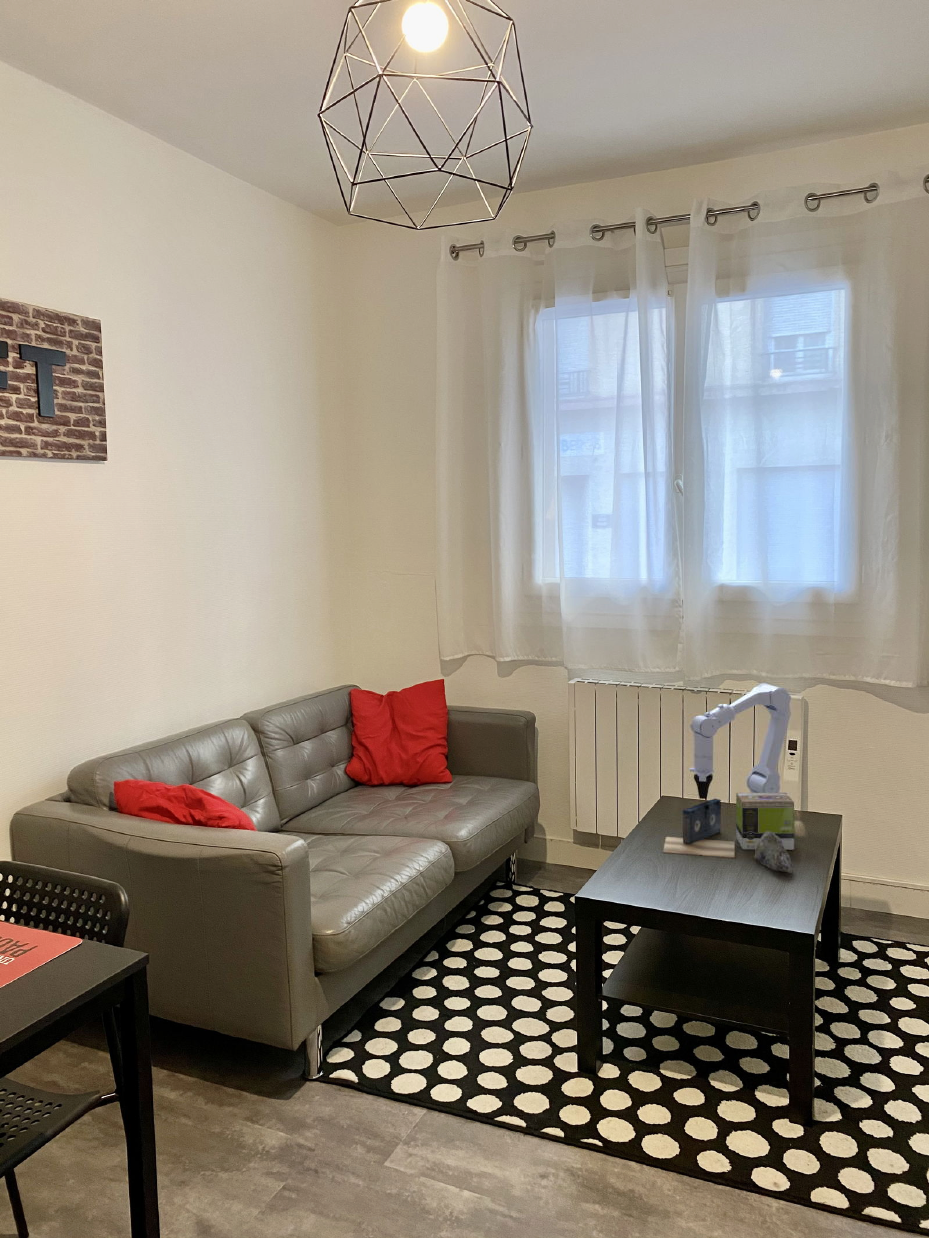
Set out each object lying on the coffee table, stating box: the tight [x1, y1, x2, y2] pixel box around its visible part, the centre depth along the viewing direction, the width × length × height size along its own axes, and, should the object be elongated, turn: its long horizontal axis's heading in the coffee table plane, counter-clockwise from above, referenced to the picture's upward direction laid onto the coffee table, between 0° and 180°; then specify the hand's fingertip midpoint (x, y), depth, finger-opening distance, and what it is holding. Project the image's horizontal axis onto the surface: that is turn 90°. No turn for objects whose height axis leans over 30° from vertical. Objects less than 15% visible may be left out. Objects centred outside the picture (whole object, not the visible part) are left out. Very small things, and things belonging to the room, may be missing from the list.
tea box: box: [735, 792, 795, 851], centre depth 288 cm, size 15×10×15 cm, turn 84°
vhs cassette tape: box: [682, 798, 722, 844], centre depth 296 cm, size 18×3×10 cm, turn 134°
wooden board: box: [662, 836, 736, 859], centre depth 287 cm, size 14×20×1 cm
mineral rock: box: [753, 831, 794, 874], centre depth 269 cm, size 13×11×10 cm
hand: (703, 798), depth 301 cm, fingers closed
